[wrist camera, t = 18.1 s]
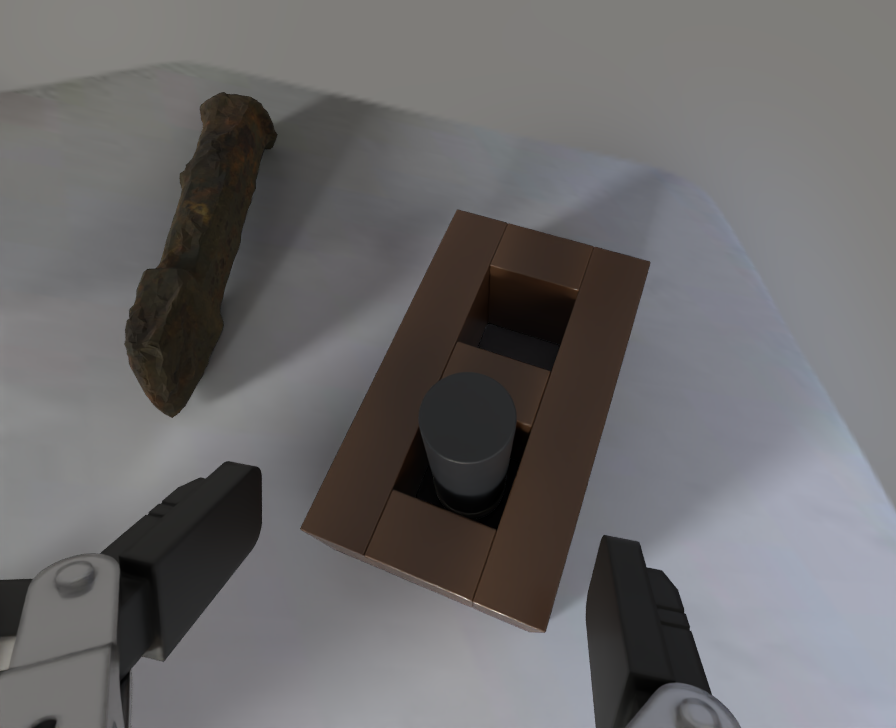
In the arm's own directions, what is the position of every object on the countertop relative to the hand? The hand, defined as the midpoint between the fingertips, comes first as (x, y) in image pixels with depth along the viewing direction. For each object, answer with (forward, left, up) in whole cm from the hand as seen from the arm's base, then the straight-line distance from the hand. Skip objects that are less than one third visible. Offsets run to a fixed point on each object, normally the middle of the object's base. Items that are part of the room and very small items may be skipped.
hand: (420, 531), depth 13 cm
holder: (-1, +7, -12) cm, 14 cm away
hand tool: (-18, +11, -12) cm, 24 cm away
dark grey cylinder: (0, +4, -12) cm, 12 cm away
